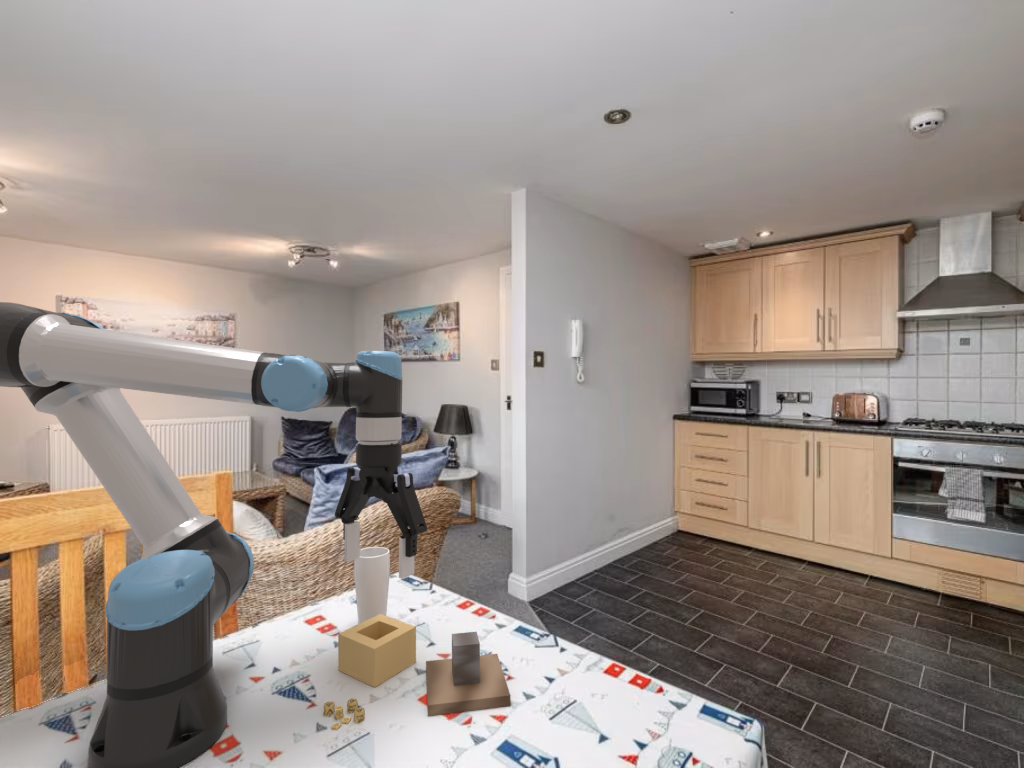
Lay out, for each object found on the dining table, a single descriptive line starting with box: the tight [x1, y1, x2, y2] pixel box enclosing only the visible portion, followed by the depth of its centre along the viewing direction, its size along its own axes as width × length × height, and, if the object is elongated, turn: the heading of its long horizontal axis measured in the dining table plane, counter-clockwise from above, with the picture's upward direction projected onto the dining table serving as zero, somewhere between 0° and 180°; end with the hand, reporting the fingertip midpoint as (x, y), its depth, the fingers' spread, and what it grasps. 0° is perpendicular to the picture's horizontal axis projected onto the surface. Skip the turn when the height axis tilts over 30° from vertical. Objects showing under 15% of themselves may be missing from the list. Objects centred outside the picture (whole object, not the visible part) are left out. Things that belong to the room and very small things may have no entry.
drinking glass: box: [353, 546, 391, 625], centre depth 99 cm, size 7×7×15 cm
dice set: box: [323, 697, 366, 731], centre depth 72 cm, size 5×5×2 cm
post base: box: [425, 631, 511, 717], centre depth 79 cm, size 12×12×8 cm
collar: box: [337, 614, 417, 688], centre depth 85 cm, size 9×9×6 cm
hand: (378, 567), depth 86 cm, fingers open, 13 cm apart
